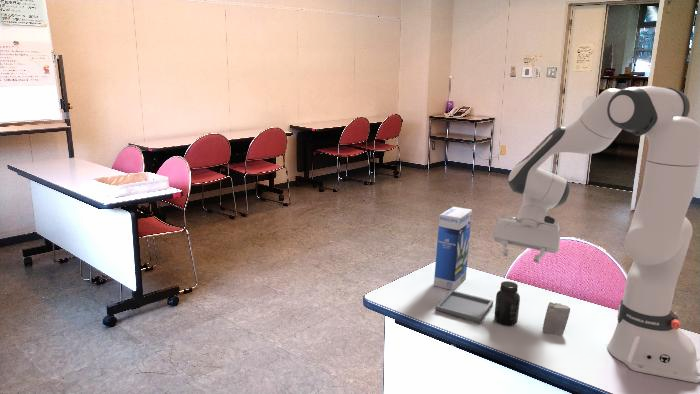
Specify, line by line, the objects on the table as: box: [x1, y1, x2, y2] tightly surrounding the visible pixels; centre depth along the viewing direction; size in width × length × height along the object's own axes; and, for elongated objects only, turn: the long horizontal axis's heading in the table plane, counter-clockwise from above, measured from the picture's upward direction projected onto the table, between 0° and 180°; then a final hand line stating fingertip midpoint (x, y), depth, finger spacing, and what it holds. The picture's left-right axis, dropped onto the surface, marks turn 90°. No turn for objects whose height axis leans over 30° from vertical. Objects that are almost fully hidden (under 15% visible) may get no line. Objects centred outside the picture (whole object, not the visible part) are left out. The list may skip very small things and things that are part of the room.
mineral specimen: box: [542, 302, 571, 336], centre depth 153 cm, size 7×9×8 cm
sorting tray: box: [435, 290, 494, 325], centre depth 164 cm, size 14×14×2 cm
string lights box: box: [433, 206, 473, 291], centre depth 181 cm, size 13×8×26 cm, turn 149°
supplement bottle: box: [493, 280, 521, 327], centre depth 156 cm, size 7×7×12 cm
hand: (520, 258), depth 163 cm, fingers open, 8 cm apart
